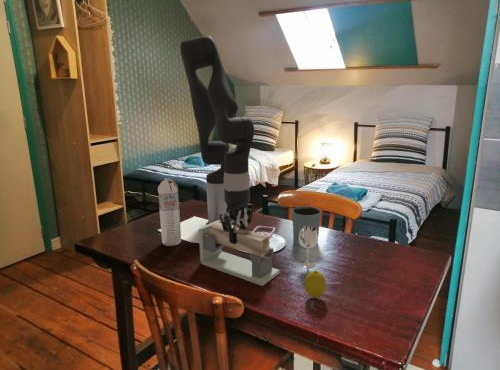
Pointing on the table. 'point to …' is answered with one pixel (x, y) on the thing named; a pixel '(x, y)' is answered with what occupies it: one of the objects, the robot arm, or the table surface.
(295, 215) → the grey plant pot
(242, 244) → the rail
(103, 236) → the table surface
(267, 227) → the phone case
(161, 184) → the water bottle
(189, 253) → the table surface
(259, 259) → the bracket stand
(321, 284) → the lemon
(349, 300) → the table surface
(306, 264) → the wineglass
